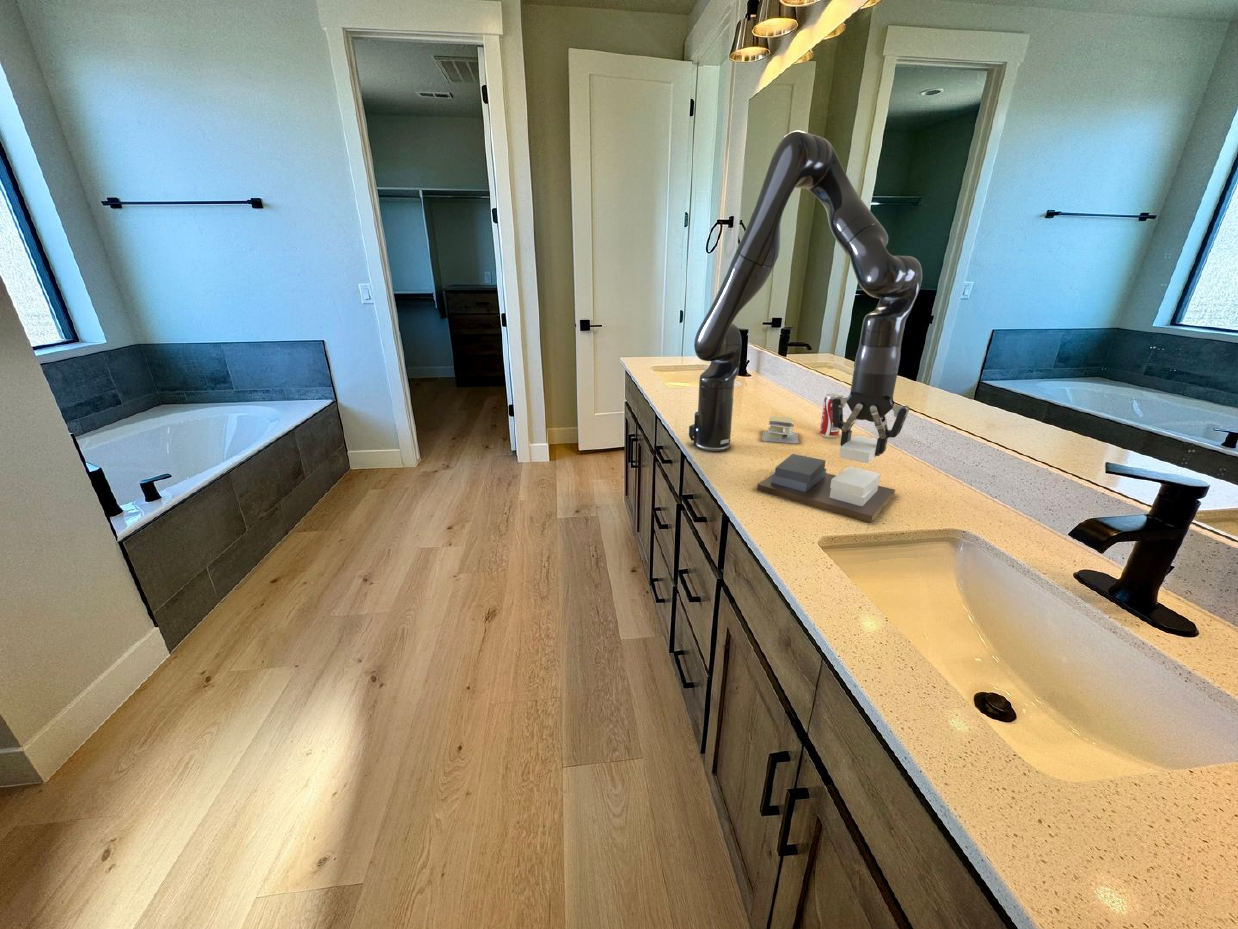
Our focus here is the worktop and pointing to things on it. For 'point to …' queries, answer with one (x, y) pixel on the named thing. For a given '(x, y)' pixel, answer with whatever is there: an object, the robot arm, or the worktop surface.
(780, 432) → the stacked layers on plate
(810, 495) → the walnut board
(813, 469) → the grey books
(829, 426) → the soda can
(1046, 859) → the worktop surface
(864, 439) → the frosted white slab
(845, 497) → the white books
